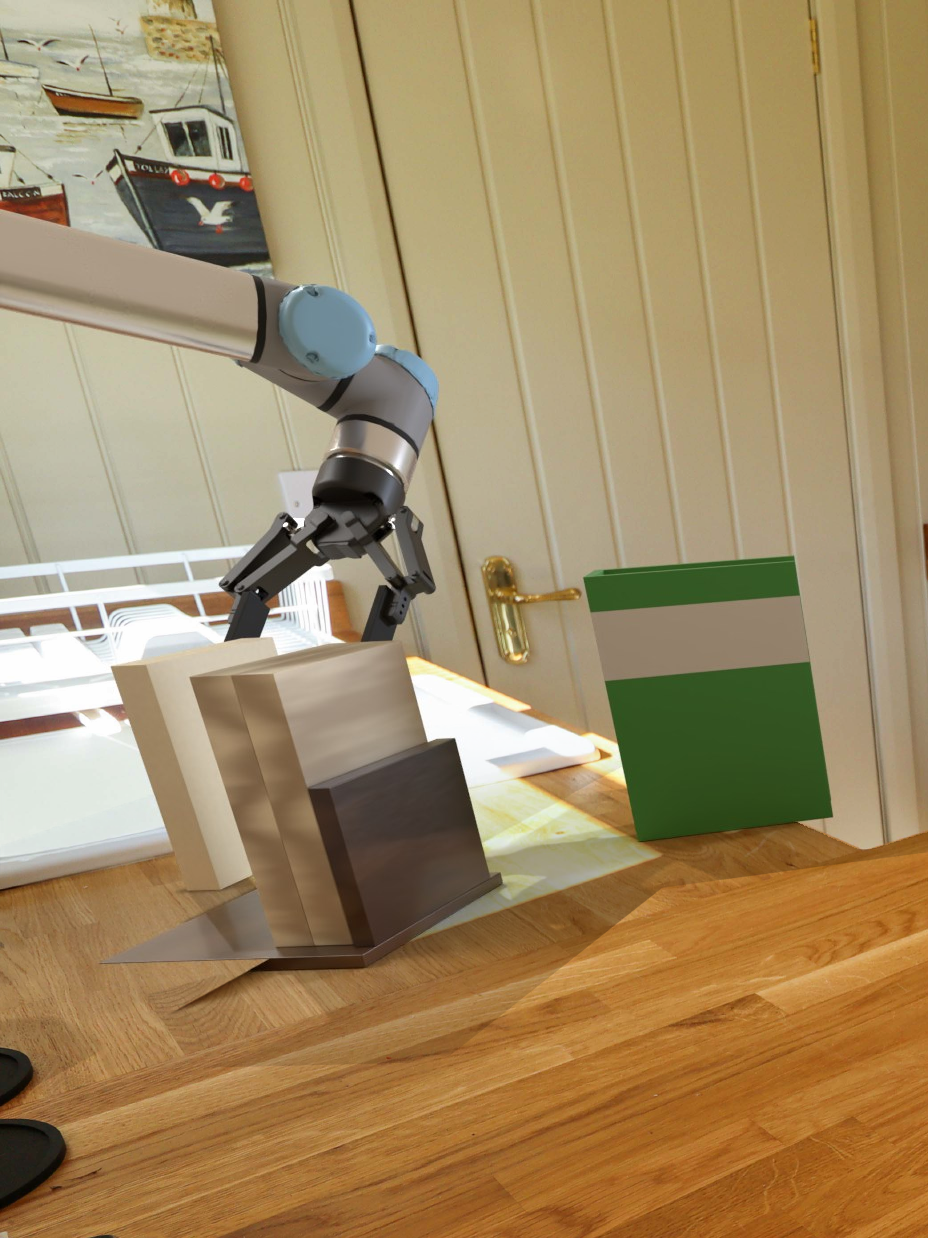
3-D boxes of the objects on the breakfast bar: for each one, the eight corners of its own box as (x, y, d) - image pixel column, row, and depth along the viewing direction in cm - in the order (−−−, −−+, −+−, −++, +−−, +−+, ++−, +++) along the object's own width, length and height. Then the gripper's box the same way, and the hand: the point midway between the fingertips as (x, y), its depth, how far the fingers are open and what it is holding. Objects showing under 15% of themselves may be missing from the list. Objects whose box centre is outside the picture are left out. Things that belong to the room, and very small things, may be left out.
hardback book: (831, 798, 128) (794, 555, 120) (833, 817, 122) (794, 561, 113) (646, 820, 124) (594, 569, 116) (638, 841, 117) (583, 577, 109)
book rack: (102, 975, 92) (-5, 689, 85) (279, 890, 109) (202, 645, 102) (365, 967, 91) (279, 677, 84) (503, 882, 108) (441, 634, 101)
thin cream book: (190, 900, 107) (109, 666, 101) (305, 849, 121) (241, 638, 114) (223, 899, 107) (145, 664, 100) (335, 848, 120) (272, 636, 114)
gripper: (504, 499, 131) (455, 670, 122) (274, 511, 132) (209, 681, 123) (461, 446, 124) (406, 622, 115) (219, 459, 126) (146, 634, 117)
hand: (304, 653), depth 119 cm, fingers open, 13 cm apart
